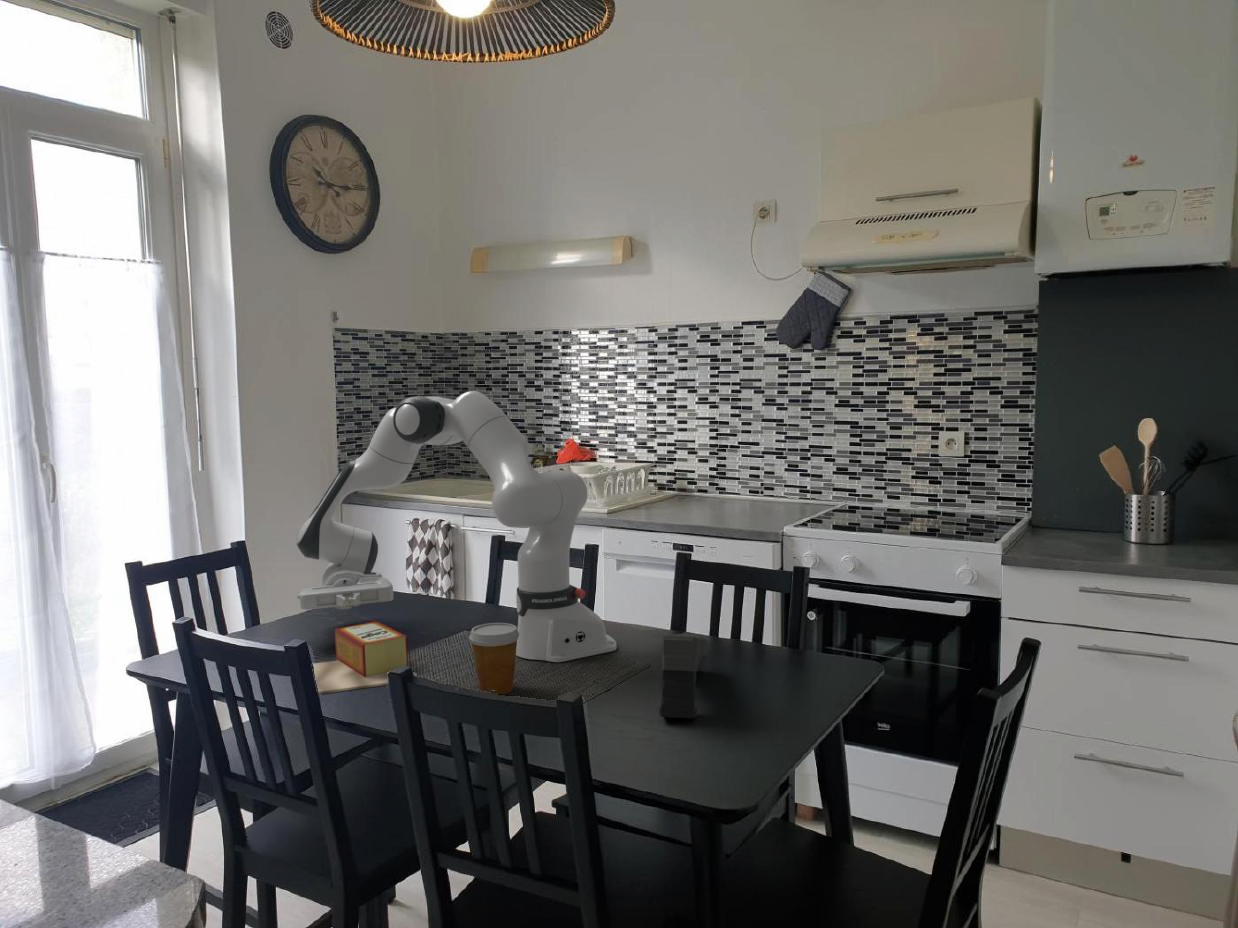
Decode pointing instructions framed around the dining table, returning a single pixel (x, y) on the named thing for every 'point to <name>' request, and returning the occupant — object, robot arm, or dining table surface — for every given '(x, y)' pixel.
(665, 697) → the dark grey upright block
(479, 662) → the disposable coffee cup
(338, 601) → the robot arm
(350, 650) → the baking soda box
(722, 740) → the dining table surface
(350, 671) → the oak board
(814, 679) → the dining table surface
